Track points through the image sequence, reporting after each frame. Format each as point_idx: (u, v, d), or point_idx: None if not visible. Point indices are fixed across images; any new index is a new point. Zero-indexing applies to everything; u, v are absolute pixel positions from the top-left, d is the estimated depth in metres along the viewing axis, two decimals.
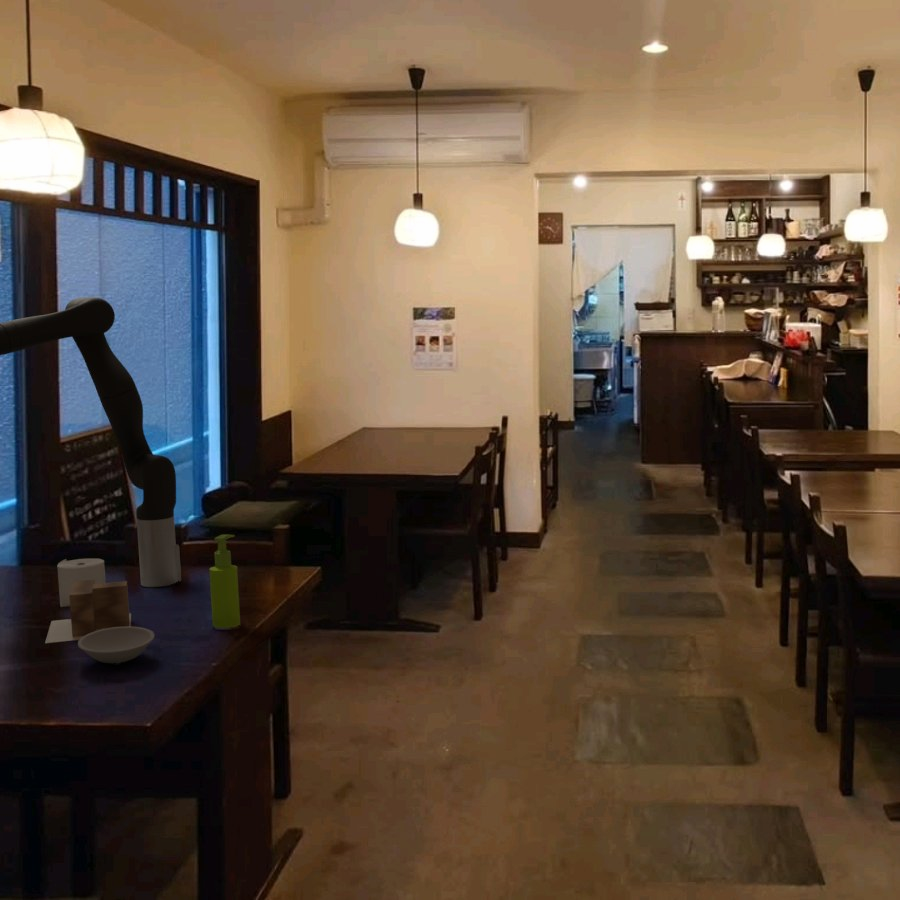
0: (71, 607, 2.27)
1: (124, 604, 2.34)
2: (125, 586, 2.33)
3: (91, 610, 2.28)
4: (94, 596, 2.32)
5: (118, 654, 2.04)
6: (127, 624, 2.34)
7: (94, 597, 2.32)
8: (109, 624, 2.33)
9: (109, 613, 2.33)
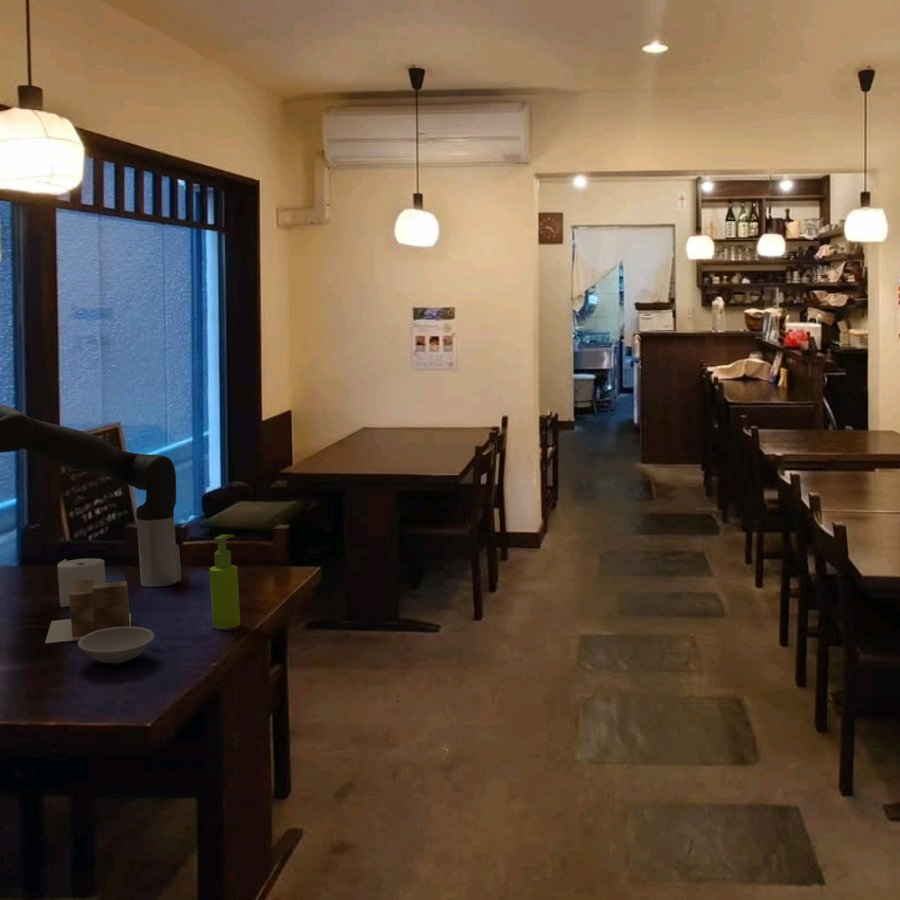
0: (71, 607, 2.27)
1: (124, 604, 2.34)
2: (125, 586, 2.33)
3: (91, 610, 2.28)
4: (94, 596, 2.32)
5: (118, 654, 2.04)
6: (127, 624, 2.34)
7: (94, 597, 2.32)
8: (109, 624, 2.33)
9: (109, 613, 2.33)
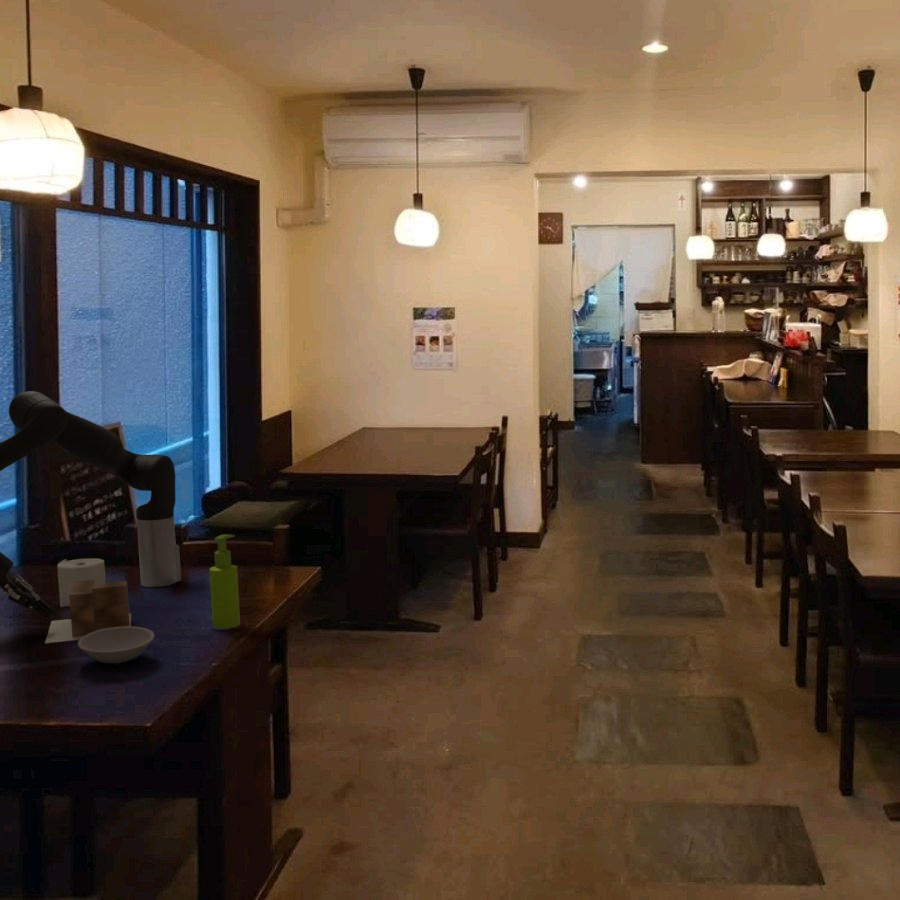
0: (71, 607, 2.27)
1: (124, 604, 2.34)
2: (125, 586, 2.33)
3: (91, 610, 2.28)
4: (94, 596, 2.32)
5: (118, 654, 2.04)
6: (127, 624, 2.34)
7: (94, 597, 2.32)
8: (109, 624, 2.33)
9: (109, 613, 2.33)
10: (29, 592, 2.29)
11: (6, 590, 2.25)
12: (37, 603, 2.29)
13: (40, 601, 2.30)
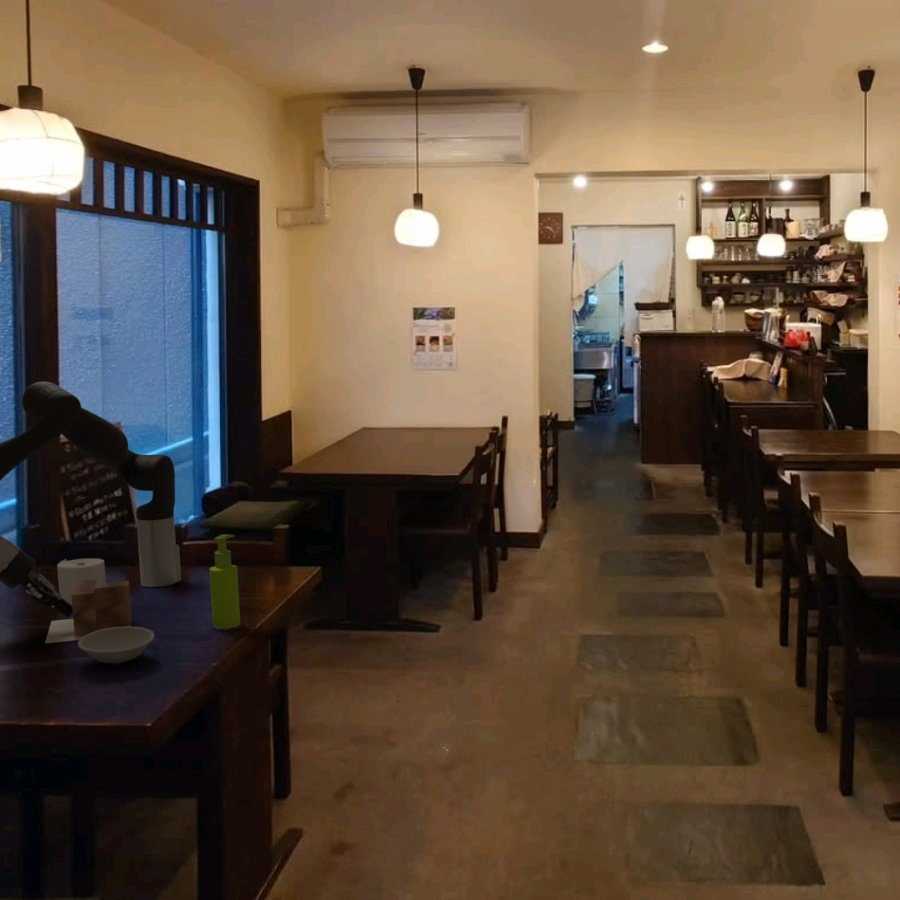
0: (73, 607, 2.27)
1: (126, 604, 2.34)
2: (127, 586, 2.34)
3: (93, 610, 2.28)
4: (96, 596, 2.32)
5: (118, 654, 2.04)
6: (129, 624, 2.34)
7: (96, 597, 2.32)
8: (111, 623, 2.33)
9: (111, 613, 2.33)
10: (51, 591, 2.29)
11: (28, 589, 2.25)
12: (59, 602, 2.30)
13: (62, 600, 2.31)
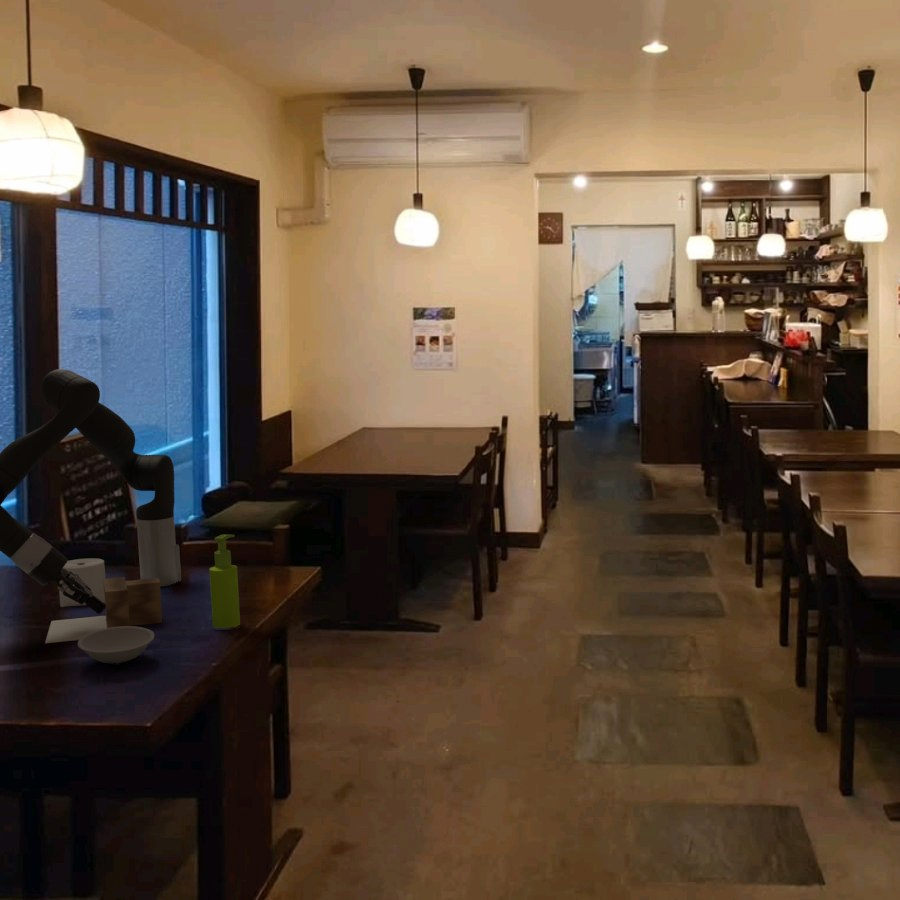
0: (107, 604, 2.28)
1: (157, 601, 2.36)
2: (158, 583, 2.36)
3: (126, 606, 2.30)
4: (128, 593, 2.34)
5: (118, 654, 2.04)
6: (160, 621, 2.37)
7: (128, 594, 2.34)
8: (142, 620, 2.35)
9: (142, 610, 2.35)
10: (83, 588, 2.31)
11: (61, 586, 2.27)
12: (90, 599, 2.31)
13: (93, 597, 2.32)
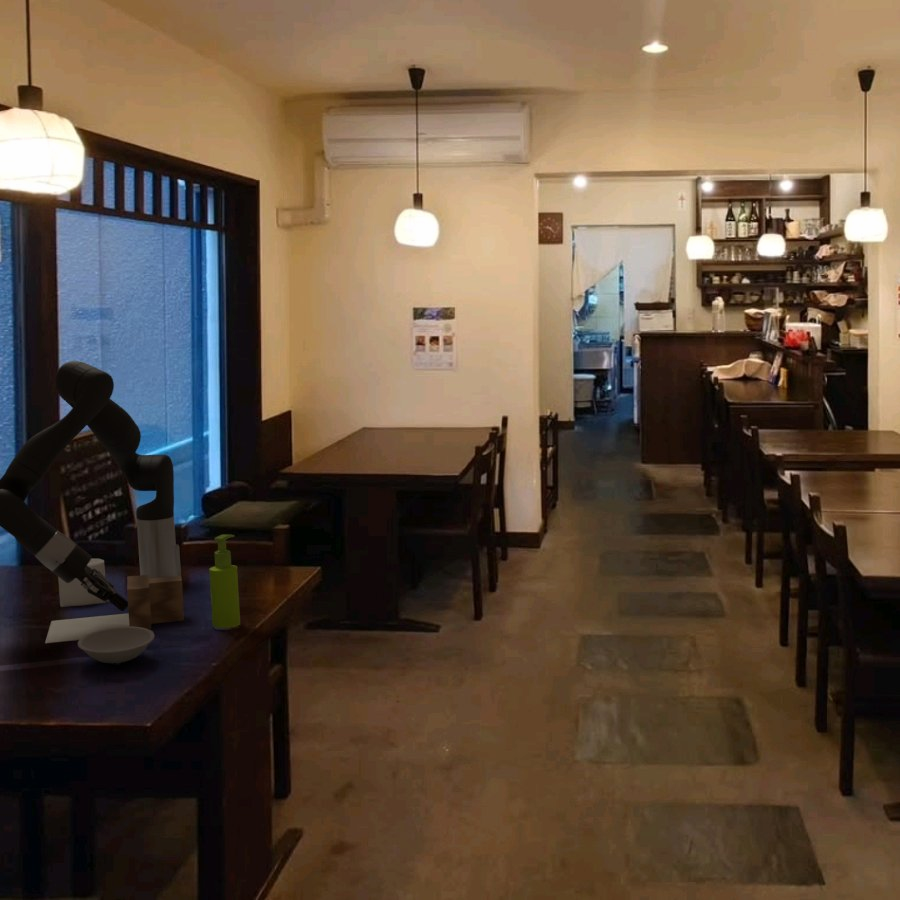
0: (129, 601, 2.30)
1: (179, 599, 2.37)
2: (180, 581, 2.37)
3: (148, 604, 2.31)
4: (150, 591, 2.35)
5: (118, 654, 2.04)
6: (182, 618, 2.38)
7: (150, 592, 2.35)
8: (164, 618, 2.37)
9: (164, 608, 2.36)
10: (106, 586, 2.33)
11: (85, 583, 2.29)
12: (114, 596, 2.33)
13: (116, 595, 2.34)
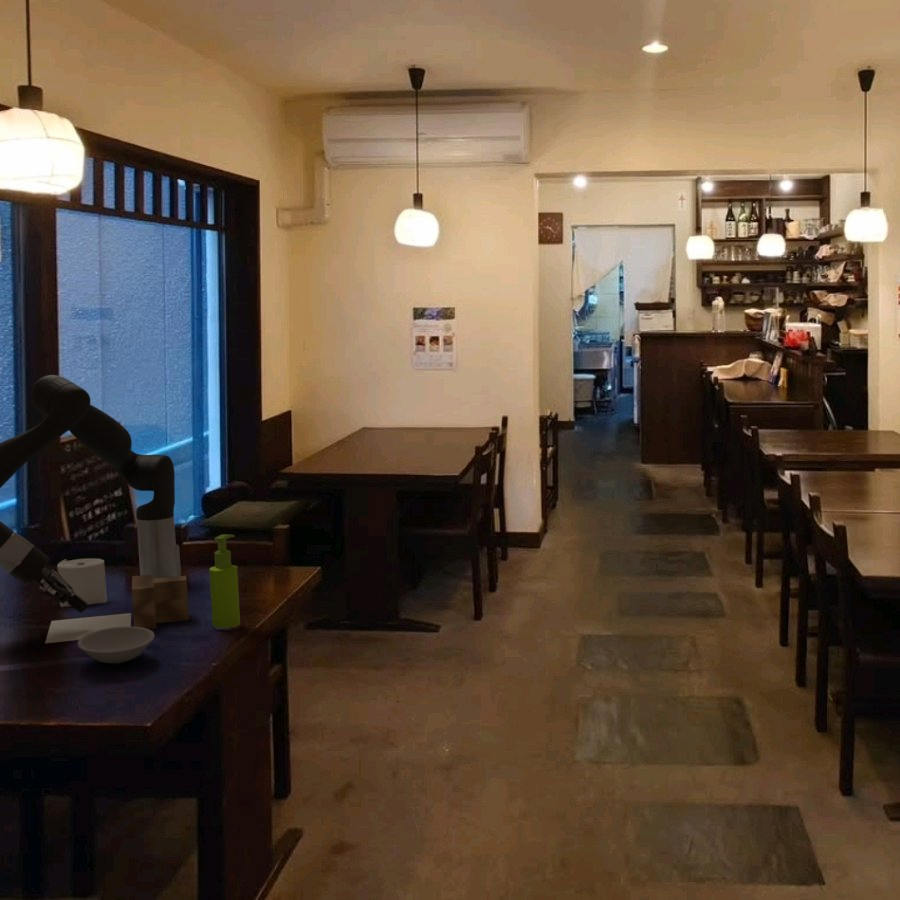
0: (133, 601, 2.30)
1: (184, 598, 2.37)
2: (185, 580, 2.37)
3: (153, 604, 2.32)
4: (155, 590, 2.36)
5: (118, 654, 2.04)
6: (187, 618, 2.38)
7: (155, 591, 2.36)
8: (169, 617, 2.37)
9: (169, 607, 2.37)
10: (64, 587, 2.30)
11: (42, 585, 2.27)
12: (72, 598, 2.31)
13: (75, 596, 2.32)
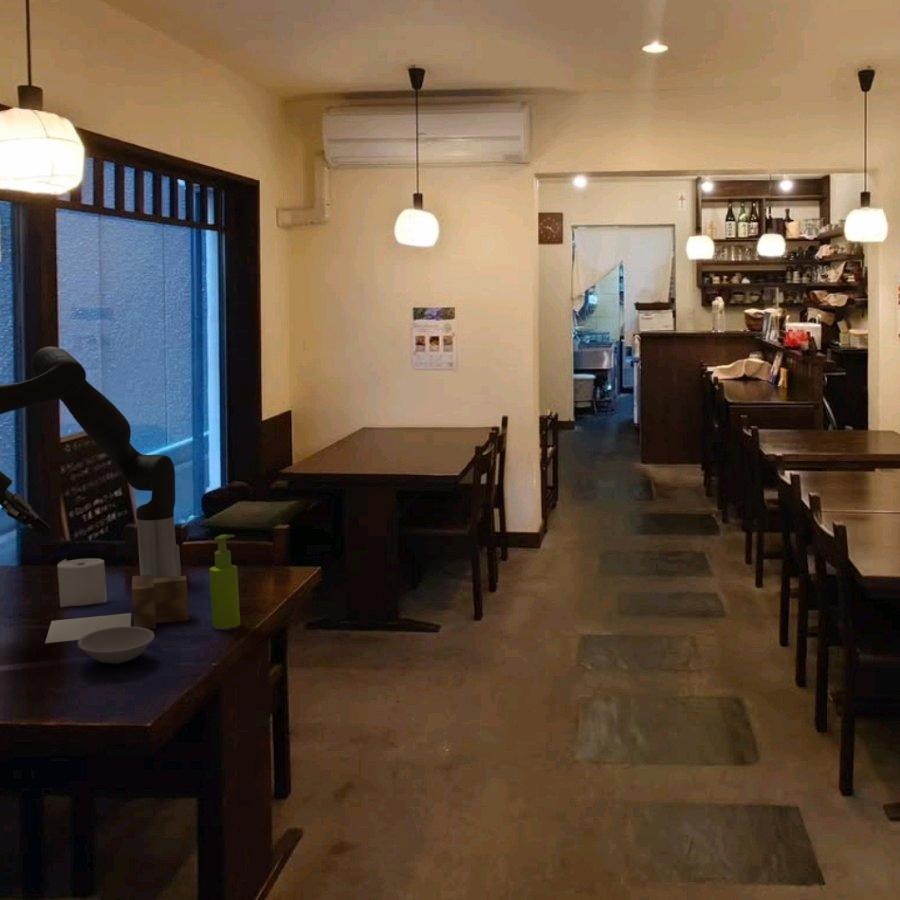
0: (133, 601, 2.30)
1: (184, 598, 2.37)
2: (185, 580, 2.37)
3: (153, 604, 2.32)
4: (155, 590, 2.36)
5: (118, 654, 2.04)
6: (187, 618, 2.38)
7: (155, 591, 2.36)
8: (169, 617, 2.37)
9: (169, 607, 2.37)
10: (27, 510, 2.30)
11: (5, 506, 2.26)
12: (35, 521, 2.31)
13: (38, 519, 2.32)
